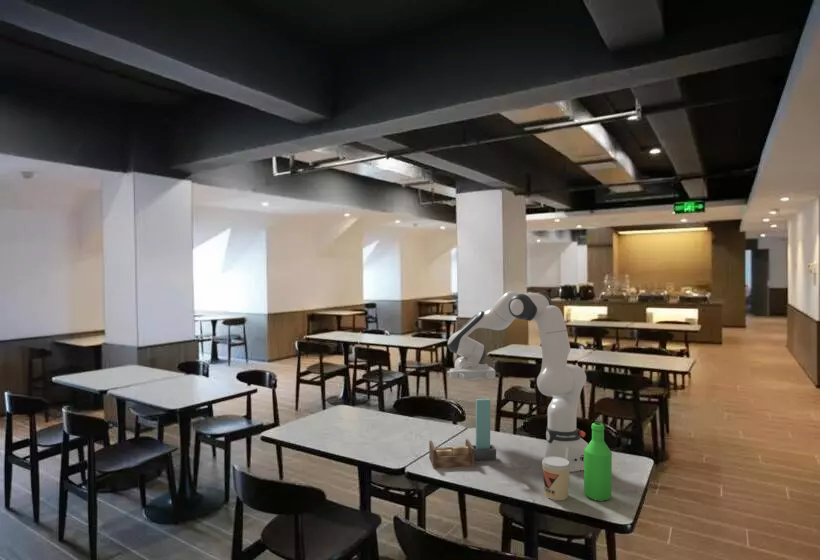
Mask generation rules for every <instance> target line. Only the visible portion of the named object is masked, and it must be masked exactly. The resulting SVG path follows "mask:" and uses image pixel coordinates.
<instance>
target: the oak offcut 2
mask: <svg viewBox="0 0 820 560" xmlns="http://www.w3.org/2000/svg"><path fill="white" fill-rule="evenodd" d="M452 447H453V455H468V446H466V445H465V446H464V445H463V446H452Z"/></svg>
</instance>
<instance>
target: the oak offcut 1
mask: <svg viewBox="0 0 820 560" xmlns="http://www.w3.org/2000/svg"><path fill="white" fill-rule="evenodd" d="M449 455H452V450H451V449H447V450H436V456H449Z"/></svg>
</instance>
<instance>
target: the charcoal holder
mask: <svg viewBox="0 0 820 560" xmlns="http://www.w3.org/2000/svg"><path fill="white" fill-rule="evenodd" d="M471 445H472V446H473V448H474V463H476V462H477V463H478V462H495V461H497V448H496V447H495V446H494V444H490V449H476V444H471Z"/></svg>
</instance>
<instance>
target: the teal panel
mask: <svg viewBox="0 0 820 560" xmlns="http://www.w3.org/2000/svg"><path fill="white" fill-rule="evenodd" d="M475 445H476V449H490V445H491V399H490V398H475Z"/></svg>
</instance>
